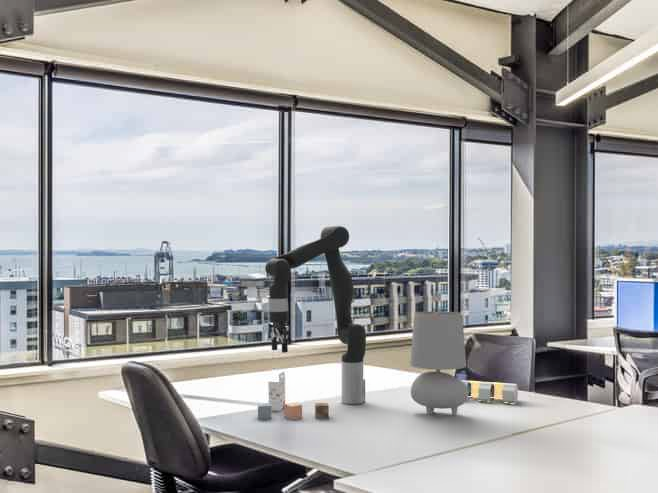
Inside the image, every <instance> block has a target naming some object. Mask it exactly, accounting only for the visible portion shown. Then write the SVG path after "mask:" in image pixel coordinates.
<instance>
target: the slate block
mask: <svg viewBox="0 0 658 493" xmlns="http://www.w3.org/2000/svg"><path fill="white" fill-rule="evenodd" d="M271 419H272V411H271V403H269V402H268V403H265V402H264V403H258V404H257V420H271Z"/></svg>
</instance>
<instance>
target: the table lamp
mask: <svg viewBox="0 0 658 493" xmlns="http://www.w3.org/2000/svg"><path fill="white" fill-rule="evenodd" d="M463 316H464V315H463V313H461V312H456V311H417V312H414V313H413V323H412V324H413V327H412V339H411V340H412V341H411V352H410V353H411V354H410V367H413V368H417V369H423V370H424V369H425V370H435V371H427V372H424V373H421V374H419V375H417V377H416V378H415V379H414V380H413V381H412V384H411V386H410V396H411V398H412V400H413V401H414V402H416V403H417V404H418V405H420V406H423V407H425V408H426V409H425V410H426V415H432V413H431V412H433V413H434V412H435V409H450V410H451V414H452V416H453V415H456V416H457V415H458V408H459V407H461V406H462V405H464V404H465V403H466V402H468V399H469V397H468V396H469V390H468V387H467V386H466V384H464V383H463V382H462V381H461V380H459V379H457V376H456V377H455V376H454V375H451V374H449V373H447V372H442V370H444V371H445V370H447V371H448V370H460V369H466V367H467V358H466V347H465V346H466V345H465V333H464V332H465V331H464V318H463Z"/></svg>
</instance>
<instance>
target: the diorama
mask: <svg viewBox="0 0 658 493" xmlns="http://www.w3.org/2000/svg"><path fill="white" fill-rule="evenodd" d="M467 375H468V374H465V370H462V373H461V372H459V373H458V374H457V373H456V375H455V376H456V378H457V379H459V380H461V381H462V382H463V383H464V384H466V386H467V387H468V390H469V396H478V398H477V400H478V401H479V400H481V401H491V400H492V399H490V397H495V398H502V403H503V402H508V403H515V402H516V401H517V399H518V398H519V386H518V384H517V383H509V382H495V381H494V382H492V381H491V382H490V381H478V380H477V381H476V380H467V379H466V378H467ZM491 402H492V401H491ZM517 402H518V401H517ZM517 402H516V403H517Z"/></svg>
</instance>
